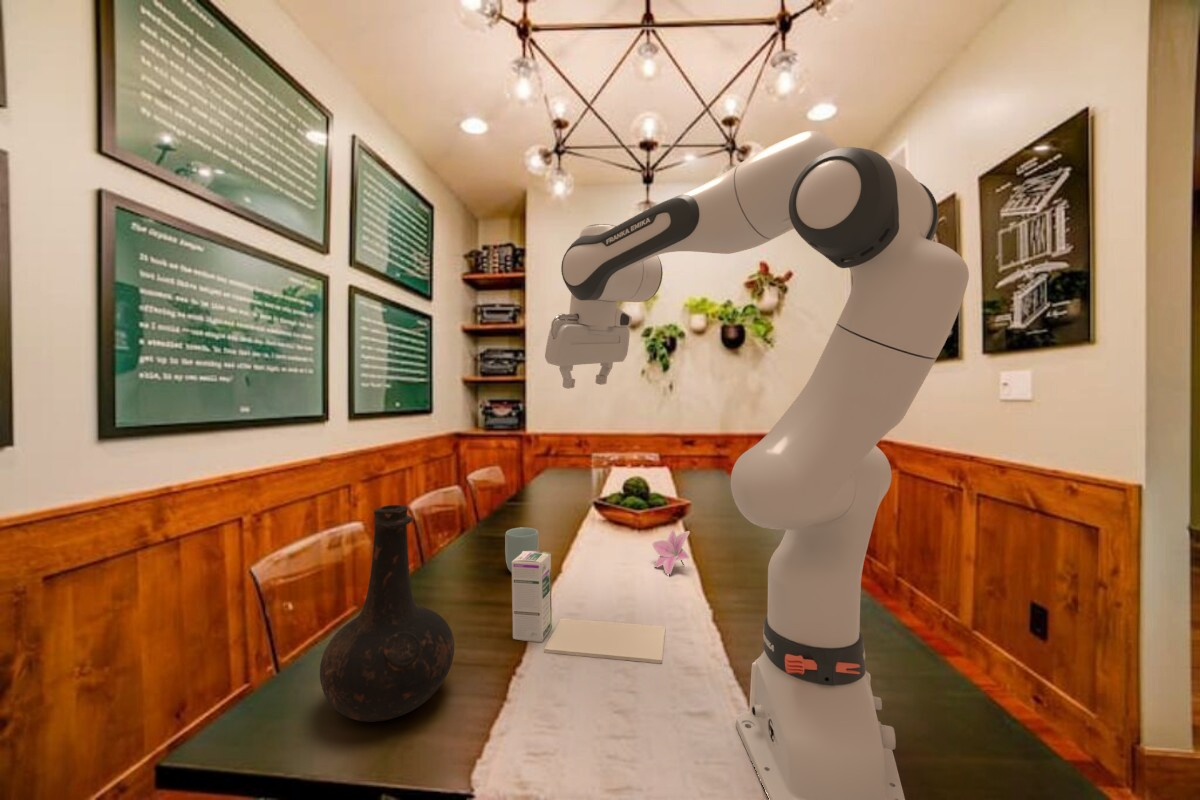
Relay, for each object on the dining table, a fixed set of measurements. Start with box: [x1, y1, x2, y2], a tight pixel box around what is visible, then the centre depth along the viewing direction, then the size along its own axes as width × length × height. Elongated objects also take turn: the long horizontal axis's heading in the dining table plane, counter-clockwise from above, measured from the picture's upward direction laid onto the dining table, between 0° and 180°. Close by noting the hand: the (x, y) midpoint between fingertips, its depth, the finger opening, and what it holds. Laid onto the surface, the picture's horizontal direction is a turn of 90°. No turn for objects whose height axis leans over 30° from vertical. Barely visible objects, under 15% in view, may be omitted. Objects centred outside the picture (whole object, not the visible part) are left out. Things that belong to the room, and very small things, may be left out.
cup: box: [504, 526, 539, 573], centre depth 126 cm, size 8×8×10 cm
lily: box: [651, 528, 691, 575], centre depth 129 cm, size 12×12×10 cm
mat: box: [543, 617, 666, 665], centre depth 92 cm, size 12×20×1 cm, turn 80°
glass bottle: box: [319, 504, 455, 723], centre depth 74 cm, size 18×18×28 cm
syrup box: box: [511, 550, 553, 643], centre depth 94 cm, size 6×6×14 cm
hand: (585, 385), depth 101 cm, fingers open, 8 cm apart
